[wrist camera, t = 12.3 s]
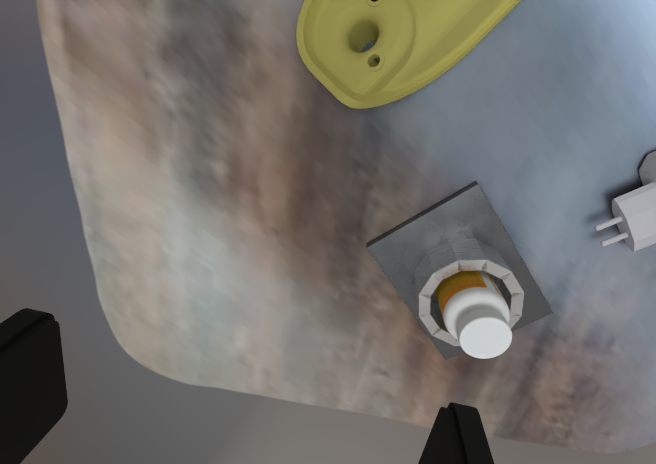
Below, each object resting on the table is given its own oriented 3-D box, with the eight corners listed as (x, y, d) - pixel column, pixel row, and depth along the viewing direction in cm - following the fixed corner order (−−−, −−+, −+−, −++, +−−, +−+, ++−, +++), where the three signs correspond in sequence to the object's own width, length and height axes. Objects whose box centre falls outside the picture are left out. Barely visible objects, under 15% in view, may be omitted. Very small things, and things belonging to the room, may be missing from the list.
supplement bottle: (422, 287, 41) (436, 350, 32) (450, 244, 39) (474, 298, 30) (468, 308, 41) (495, 376, 32) (498, 267, 39) (537, 327, 30)
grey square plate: (366, 243, 41) (365, 268, 36) (475, 181, 37) (491, 199, 32) (444, 354, 45) (452, 390, 40) (549, 307, 41) (573, 341, 36)
